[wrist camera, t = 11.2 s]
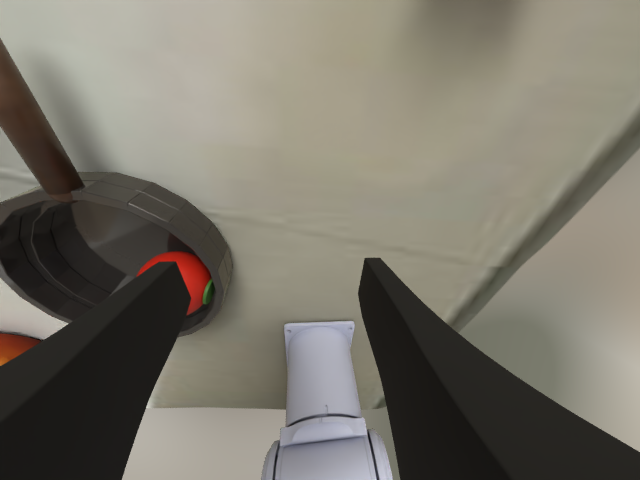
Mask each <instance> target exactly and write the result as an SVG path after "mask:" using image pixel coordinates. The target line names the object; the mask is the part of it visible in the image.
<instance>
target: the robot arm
mask: <svg viewBox="0 0 640 480" xmlns="http://www.w3.org/2000/svg"><path fill="white" fill-rule="evenodd" d="M358 296H359V302H360V307H361V313H362V318H363V321H364V324H365V328H366V331H367V334H368V338H369V341H370V344H371V348H372V351H373V354H374V357H375V361H376V364H377V367H378V371H379V374H380V378H381V382H382V386H383V391H384V395H385V400H386V405H387V410H388V415H389V420H390V425H391V430H392V435H393V440H394V445H395V451H396V456H397V462H398V468H399V474H400V479H401V480H640V452H638V451H637V450H635V449H633V448H632V447H630V446H628V445H627V444H625V443H623V442H621V441H620V440H618V439H616V438H615V437H613V436H611V435H610V434H608V433H606V432H604V431H602V430H601V429H599V428H598V427H596V426H594V425H593V424H591V423H589V422H587V421H586V420H584V419H582V418H581V417H579V416H577V415H575V414H574V413H572V412H571V411H569V410H567V409H566V408H564V407H562V406H561V405H559V404H558V403H556V402H555V401H553V400H552V399H550V398H548V397H547V396H545V395H544V394H542V393H541V392H539V391H537V390H536V389H534V388H533V387H531V386H530V385H528V384H527V383H525V382H524V381H522V380H521V379H519V378H518V377H516V376H515V375H513V374H512V373H511V372H509V371H508V370H506V369H505V368H503V367H502V366H501V365H499V364H498V363H497V362H495V361H494V360H492V359H491V358H489V357H488V356H487V355H485V354H484V353H483V352H481V351H480V350H479V349H477V348H476V347H474V346H473V345H472V344H471V343H469V342H468V341H467V340H466V339H465V338H463V337H462V336H461V335H460V334H458V333H457V332H456V331H455V330H453V329H452V328H451V327H450V326H449V325H447V324H446V323H445V322H444V321H443V320H442V319H441V318H439V317H438V316H437V315H436V314H435V313H434V312H433V311H432V310H431V309H429V308H428V307H427V306H426V305H425V304H424V303H423V302H422V301H421V300H420V299H419V298H418V297H417V296H416V295H415V294H414V293H413V292H412V291H411V290H410V289H409V288H408V287H407V286H406V285H405V284H404V283H403V282H402V281H401V280H400V279H399V278H398V277H397V276H396V274H395V273H394V272H393V271H392V270H391V269H390V268H389V267H388V266H387V265H386V264H385V263H384V262H383V261H382V260H381V258H365V260H364V265H363V270H362V276H361V281H360V286H359V291H358ZM190 302H191V296H190V293H189V291H188V289H187V286H186V284H185V282H184V279H183V277H182V274H181V272H180V270H179V267H178V265H177V262H176V261H167V262H158V263H156V264H155V265H153V266H151V267H150V268H148V269H147V270H146V271H144V272H143V273H141V274H140V275H139V276H137V277H136V278H134V279H133V280H132V281H130V282H129V283H127V284H126V285H125V286H123V287H122V288H120V289H119V290H118V291H116V292H115V293H113V294H112V295H111V296H109V297H108V298H106V299H105V300H103V301H102V302H101V303H99V304H98V305H96V306H95V307H93V308H92V309H90V310H89V311H87V312H86V313H84V314H83V315H81V316H80V317H78V318H77V319H75V320H74V321H72V322H71V323H69V324H68V325H66V326H65V327H63V328H62V329H61V330H59V331H58V332H56V333H54V334H53V335H51V336H50V337H48V338H46V339H45V340H43V341H42V342H40V343H38V344H37V345H35V346H34V347H32V348H30V349H29V350H27V351H25V352H23V353H22V354H20V355H18V356H17V357H15V358H13V359H12V360H10V361H8V362H7V363H5V364H3V365H1V366H0V480H122V476H123V474H124V470H125V467H126V464H127V461H128V458H129V455H130V452H131V449H132V446H133V443H134V440H135V437H136V434H137V431H138V428H139V425H140V423H141V420H142V417H143V414H144V412H145V409H146V406H147V403H148V401H149V398H150V396H151V393H152V391H153V389H154V386H155V384H156V382H157V380H158V378H159V375H160V373H161V371H162V369H163V367H164V365H165V363H166V361H167V358H168V356H169V354H170V352H171V350H172V348H173V346H174V343H175V341H176V339H177V337H178V335H179V333H180V330H181V328H182V326H183V324H184V321H185V318H186V315H187V312H188V308H189V305H190ZM354 327H355V324H354V322H353V321H334V322H308V323H287V324H285V325H284V335H285V347H286V358H287V367H288V378H287V403H286V427H285V428H281V429H280V430H281V431H280V440H278V441H275V442H274V443H273V444H272V446H271V448H270V450H269V451H268V453H267V455H266V458H265V461H264V465H263V470H262V476H261V480H393V477H392V473H391V468H390V464H389V460H388V456H387V453H386V449H385V446H384V443H383V440H382V438H381V436H379V434H377V433H376V431H375V430H374V429H373V428H372V429H366V425H365V419H364V418H362V414H361V408H360V403H359V397H358V392H357V386H356V381H355V375H354V370H353V364H352V359H351V353H350V347H351V342H352V337H353V332H354Z"/></svg>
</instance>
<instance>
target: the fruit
mask: <svg viewBox="0 0 640 480" xmlns="http://www.w3.org/2000/svg"><path fill="white" fill-rule="evenodd" d="M40 342H42V341H40V340H37V339H33V338H29V337H25V336H19V335H11V334H3V333H0V366H1V365H3V364H5V363H7V362H8V361H10V360H12V359H13V358H15V357H17V356H18V355H20V354H22V353H23V352H25V351H27V350H29V349H30V348H32V347H34V346H35V345H37V344H38V343H40Z"/></svg>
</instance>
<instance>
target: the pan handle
mask: <svg viewBox="0 0 640 480" xmlns="http://www.w3.org/2000/svg"><path fill="white" fill-rule="evenodd" d="M0 127H1V128H2V130H3V131H4V132H5V134H6V135H7V137H8V138H9V140H10V141H11V143H12V144H13V146H14V147H15V148H16V150H17V151H18V153H19V154H20V156H21V157H22V159H23V160H24V162H25V163H26V164H27V166H28V167H29V169H30V170H31V172H32V173H33V175H34V176H35V178H36V179H37V180H38V182H39V183H40V185H41V186H42V188H43V189H44V191H45V192H46V193H47V195H48V196H49V197H51V198H52V199H54V200H55V201H58V202H61V203H76V202H78V201H72V199H73V196H72V194H71V191H72V190H75V189H78V188H80V187H82V186H83V185H84V183H83V181H82V180H81V178H80V176H79V174H78V173H77V171H76V169H75V167H74V166H73V164H72V162H71V160H70V159H69V157H68V155H67V153H66V152H65V150H64V148H63V146H62V145H61V143H60V141H59V139H58V138H57V136H56V134H55V133H54V131H53V129H52V127H51V126H50V124H49V122H48V120H47V119H46V117H45V115H44V113H43V112H42V110H41V108H40V106H39V105H38V103H37V101H36V99H35V98H34V96H33V94H32V92H31V91H30V89H29V87H28V85H27V84H26V82H25V80H24V78H23V77H22V75H21V73H20V72H19V70H18V68H17V66H16V65H15V63H14V61H13V59H12V58H11V56H10V54H9V52H8V51H7V49H6V47H5V45H4V44H3V42H2V40H1V38H0Z"/></svg>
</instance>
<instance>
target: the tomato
mask: <svg viewBox="0 0 640 480" xmlns="http://www.w3.org/2000/svg"><path fill="white" fill-rule="evenodd" d="M167 261H176V262H177V265H178V267H179V270H180V272H181V274H182V277H183V279H184V282H185V284H186V286H187V289H188V291H189V293H190V296H191V302H190V305H189V308H188V312H187V315H189V314H191V313H193V312H194V311H196V310H197V309H198V308H200V307H201V306H202V305H203V304H206V305H207V304H208V303H209V302H210V301H211V299H212V297H213V294H214V291H215V287H214V284H213V281H212V278H211V274H210V271H209V270H208V268H207V267H206V266H205V265H204V263H203V262H202V261H201V260H200V258H199V257H197V256H196V255H193V254H191V253H188V252H183V251H171V252H166V253H163V254H160V255H157V256H155V257H154V258H152V259H151V260H149V261H148V262H147V263H146V264H145V265H144V266H143V267H142V268H141V269H140V271H139V272H138V274H137V276H139V275H140V274H141V273H143V272H144V271H146V270H147V269H148V268H150V267H151V266H153V265H155V264H156V263H158V262H167ZM137 276H136V277H137Z"/></svg>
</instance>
